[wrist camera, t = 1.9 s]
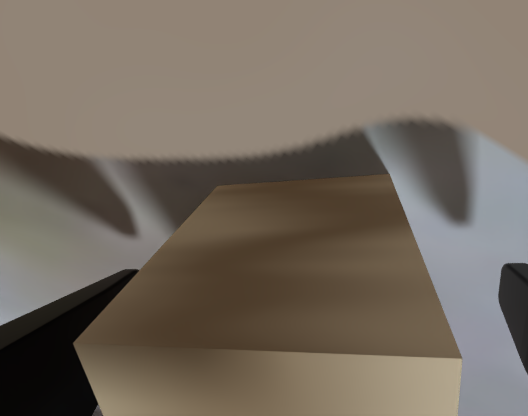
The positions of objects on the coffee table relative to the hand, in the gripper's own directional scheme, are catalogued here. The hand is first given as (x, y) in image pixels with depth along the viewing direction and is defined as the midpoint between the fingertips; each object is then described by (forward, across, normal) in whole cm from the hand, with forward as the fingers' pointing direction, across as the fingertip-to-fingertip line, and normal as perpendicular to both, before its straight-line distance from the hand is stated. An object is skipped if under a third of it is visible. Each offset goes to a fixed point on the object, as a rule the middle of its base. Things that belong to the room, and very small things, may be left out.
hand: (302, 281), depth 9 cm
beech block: (+1, 0, 0) cm, 1 cm away
